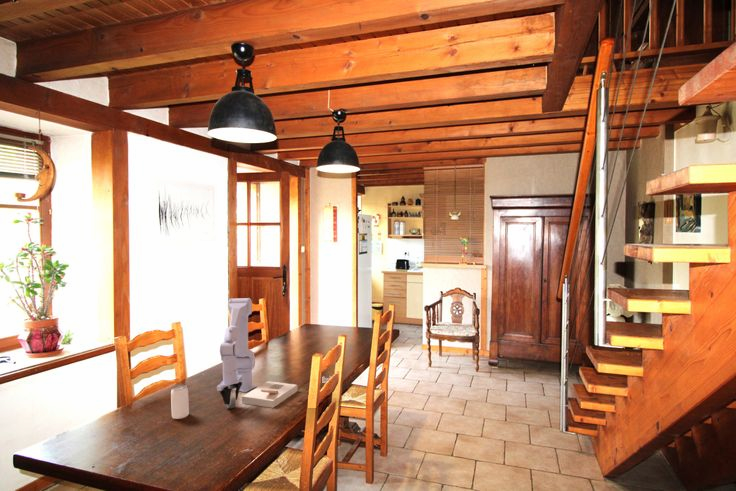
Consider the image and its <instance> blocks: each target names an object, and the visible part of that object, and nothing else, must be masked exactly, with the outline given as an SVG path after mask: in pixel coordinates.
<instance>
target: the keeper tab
mask: <svg viewBox="0 0 736 491" xmlns="http://www.w3.org/2000/svg"><path fill="white" fill-rule="evenodd" d="M261 392H267V393H278V391H273V390H261Z"/></svg>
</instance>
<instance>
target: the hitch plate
mask: <svg viewBox="0 0 736 491" xmlns="http://www.w3.org/2000/svg"><path fill="white" fill-rule="evenodd" d="M261 390H273V391H278V393H267V392H261ZM297 392H298V384H294V383H285V382H278V381H277V382H276V381H270V380H269V381H268V380H267V381H265V382H264V383H262V384H261V385H259V386H258V387H257V386H256V387H255V388H253V389H251V391H250V390H249V391H248V392H246V393H245V394H243V395H242V396H241V404H244V405H251V406H258V407H266V408H272V409H274V408H275V407H277V406H278V405H279V404H281V403H282V402H284V401H285V400H287V399H288V398H290V397H291V396H293V395H294V394H296V393H297Z"/></svg>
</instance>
